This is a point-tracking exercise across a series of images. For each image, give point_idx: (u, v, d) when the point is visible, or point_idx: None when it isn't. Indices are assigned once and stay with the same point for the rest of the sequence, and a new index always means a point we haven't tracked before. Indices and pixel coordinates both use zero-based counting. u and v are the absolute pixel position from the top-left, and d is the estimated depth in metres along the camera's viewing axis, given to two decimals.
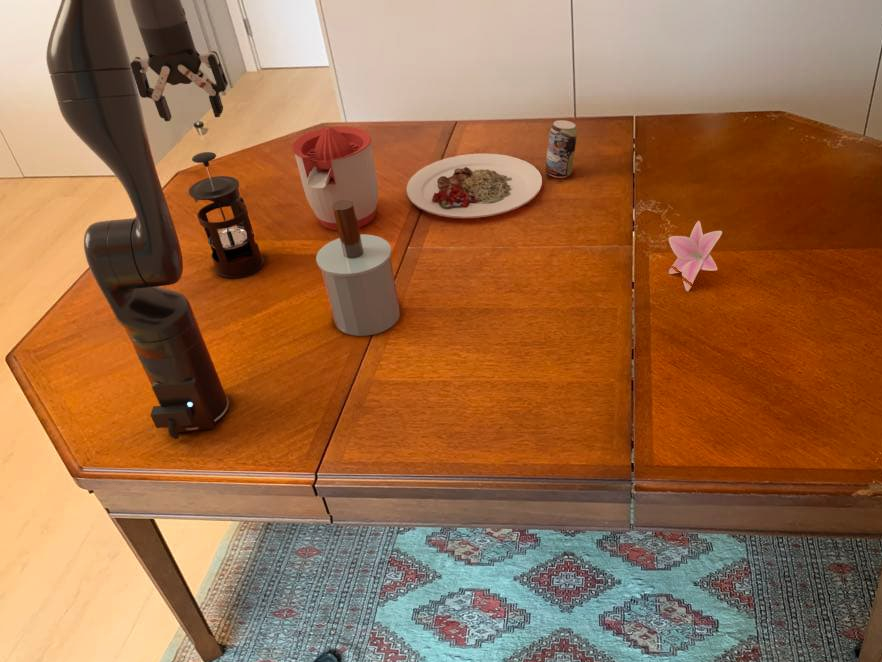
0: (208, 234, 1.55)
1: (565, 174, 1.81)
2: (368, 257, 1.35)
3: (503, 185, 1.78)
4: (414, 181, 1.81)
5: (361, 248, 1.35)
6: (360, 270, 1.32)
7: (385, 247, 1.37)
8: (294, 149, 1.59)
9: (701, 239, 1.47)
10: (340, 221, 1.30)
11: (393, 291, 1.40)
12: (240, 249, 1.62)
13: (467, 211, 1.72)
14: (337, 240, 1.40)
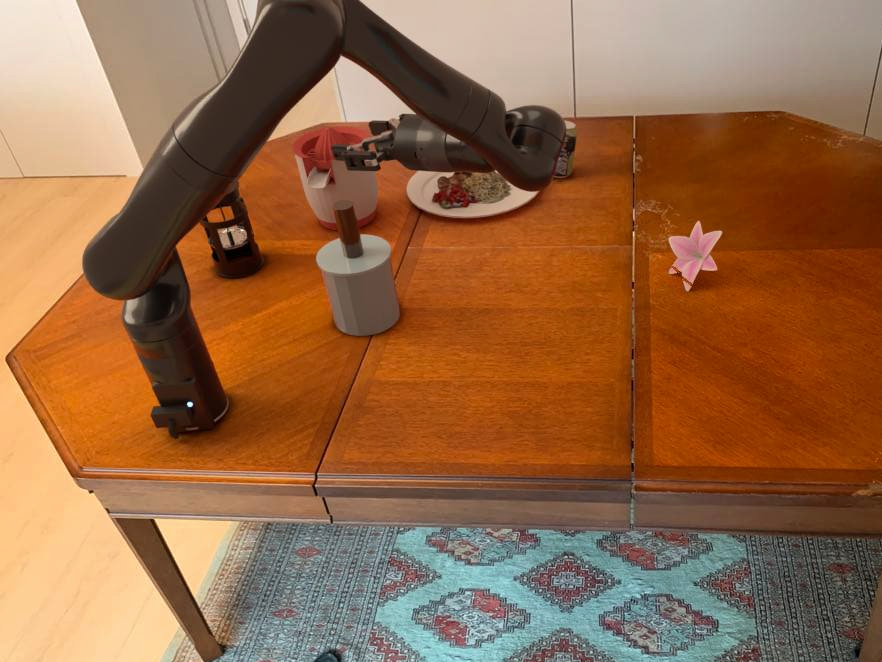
0: (208, 234, 1.55)
1: (565, 174, 1.81)
2: (368, 257, 1.35)
3: (503, 185, 1.78)
4: (414, 181, 1.81)
5: (361, 248, 1.35)
6: (360, 270, 1.32)
7: (385, 247, 1.37)
8: (294, 149, 1.59)
9: (701, 239, 1.47)
10: (340, 221, 1.30)
11: (393, 291, 1.40)
12: (240, 249, 1.62)
13: (467, 211, 1.72)
14: (337, 240, 1.40)
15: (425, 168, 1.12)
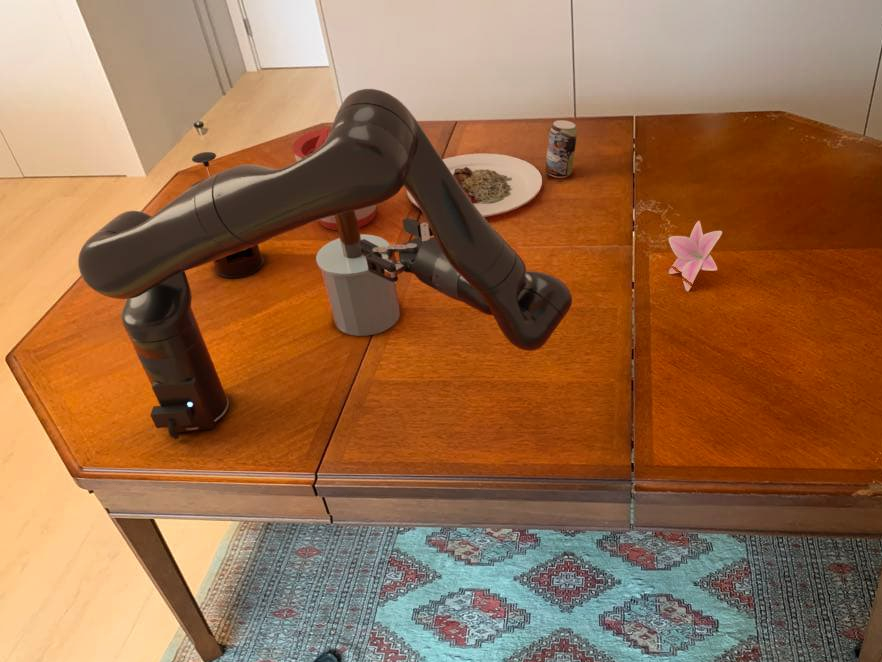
0: None
1: (565, 174, 1.81)
2: None
3: (503, 185, 1.78)
4: None
5: None
6: (360, 270, 1.32)
7: None
8: (294, 149, 1.59)
9: (701, 239, 1.47)
10: (340, 221, 1.30)
11: (393, 291, 1.40)
12: None
13: None
14: (337, 240, 1.40)
15: (438, 290, 1.18)
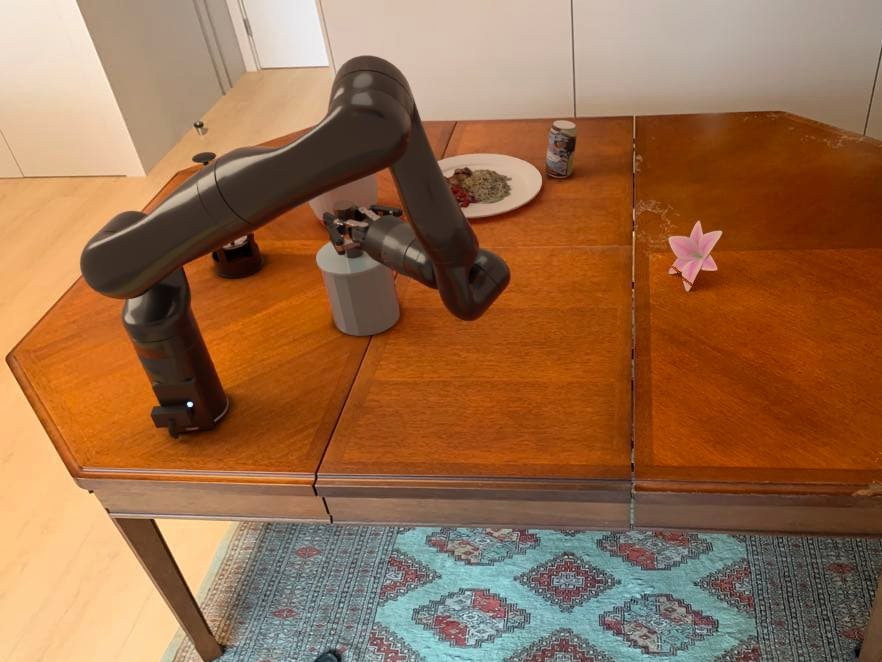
0: None
1: (565, 174, 1.81)
2: (368, 257, 1.35)
3: (503, 185, 1.78)
4: None
5: None
6: (360, 270, 1.32)
7: None
8: None
9: (701, 239, 1.47)
10: None
11: (393, 291, 1.40)
12: (240, 249, 1.62)
13: (467, 211, 1.72)
14: None
15: None
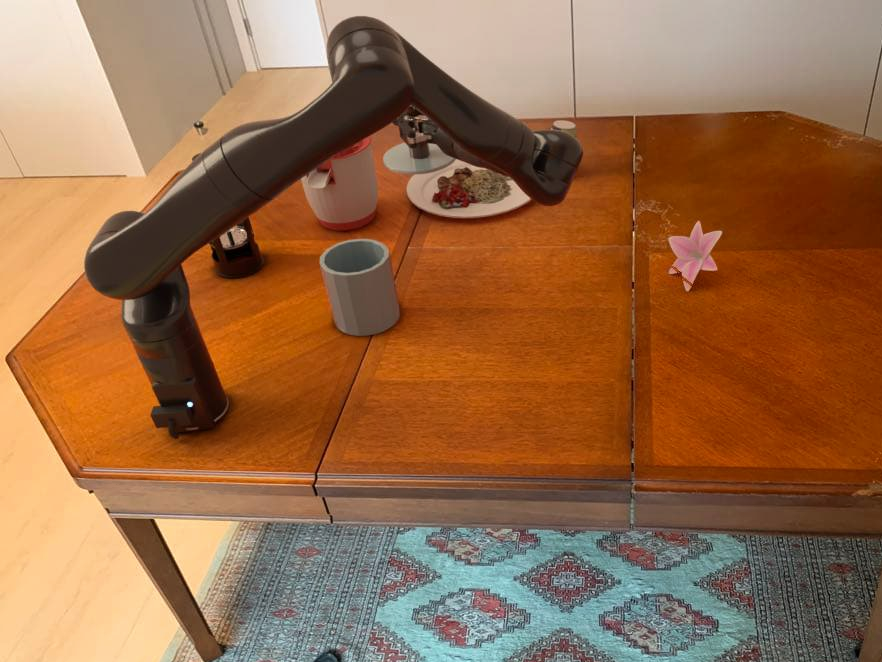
0: None
1: None
2: (435, 158, 1.36)
3: (503, 185, 1.78)
4: (414, 181, 1.81)
5: (428, 149, 1.36)
6: (428, 168, 1.33)
7: None
8: None
9: (701, 239, 1.47)
10: None
11: (393, 291, 1.40)
12: (240, 249, 1.62)
13: (467, 211, 1.72)
14: (402, 144, 1.41)
15: (459, 158, 1.26)
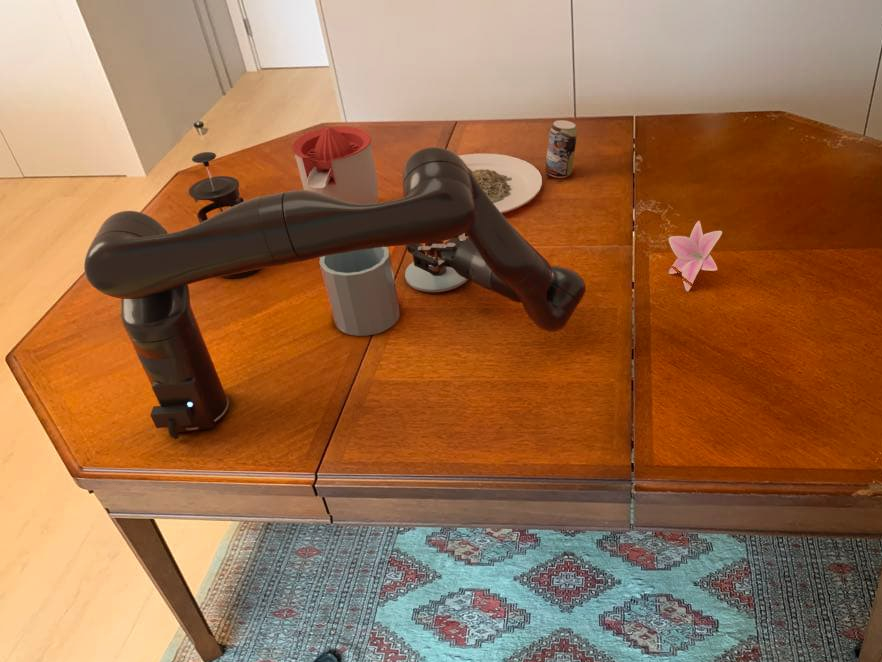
0: None
1: (565, 174, 1.81)
2: (451, 275, 1.52)
3: (503, 185, 1.78)
4: None
5: (445, 267, 1.52)
6: (446, 286, 1.49)
7: None
8: (294, 149, 1.59)
9: (701, 239, 1.47)
10: (429, 243, 1.47)
11: (393, 291, 1.40)
12: None
13: None
14: None
15: (473, 282, 1.41)
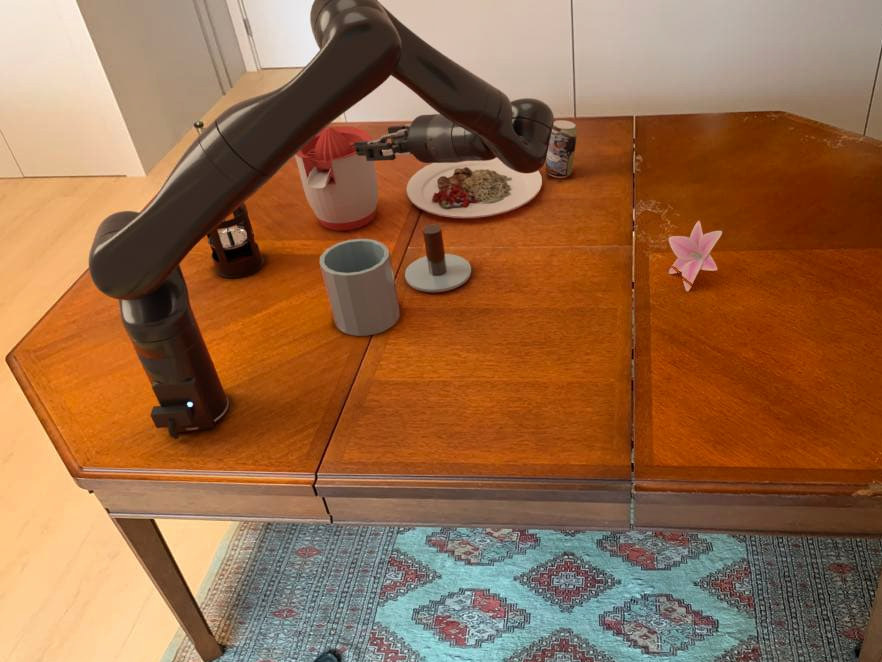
0: (208, 234, 1.55)
1: (565, 174, 1.81)
2: (451, 275, 1.52)
3: (503, 185, 1.78)
4: (414, 181, 1.81)
5: (445, 267, 1.52)
6: (446, 286, 1.49)
7: (465, 265, 1.54)
8: None
9: (701, 239, 1.47)
10: (429, 243, 1.47)
11: (393, 291, 1.40)
12: (240, 249, 1.62)
13: (467, 211, 1.72)
14: (421, 259, 1.57)
15: (434, 158, 1.29)
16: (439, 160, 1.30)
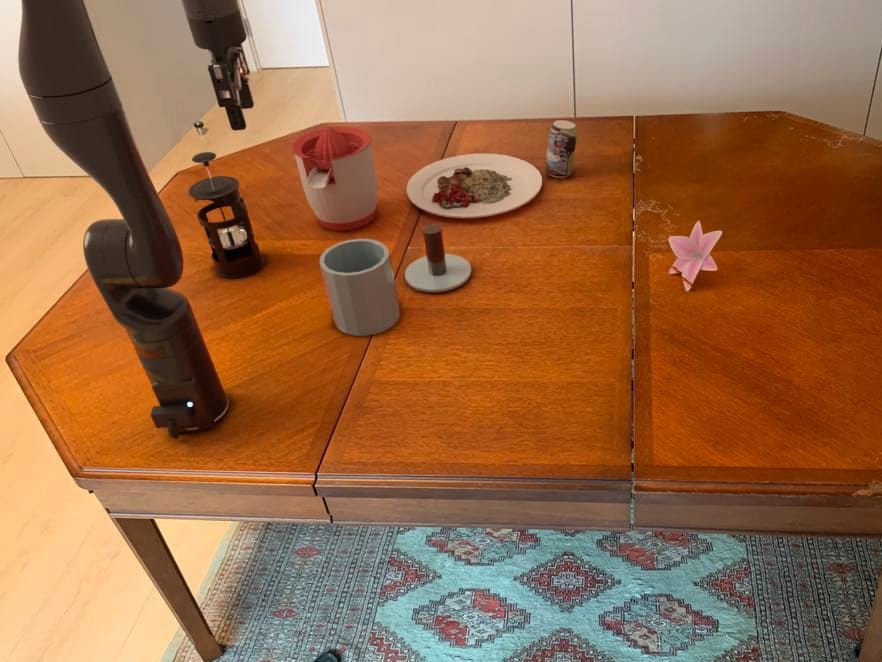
0: (208, 234, 1.55)
1: (565, 174, 1.81)
2: (451, 275, 1.52)
3: (503, 185, 1.78)
4: (414, 181, 1.81)
5: (445, 267, 1.52)
6: (446, 286, 1.49)
7: (465, 265, 1.54)
8: (294, 149, 1.59)
9: (701, 239, 1.47)
10: (429, 243, 1.47)
11: (393, 291, 1.40)
12: (240, 249, 1.62)
13: (467, 211, 1.72)
14: (421, 259, 1.57)
15: (225, 16, 1.15)
16: (227, 11, 1.15)
